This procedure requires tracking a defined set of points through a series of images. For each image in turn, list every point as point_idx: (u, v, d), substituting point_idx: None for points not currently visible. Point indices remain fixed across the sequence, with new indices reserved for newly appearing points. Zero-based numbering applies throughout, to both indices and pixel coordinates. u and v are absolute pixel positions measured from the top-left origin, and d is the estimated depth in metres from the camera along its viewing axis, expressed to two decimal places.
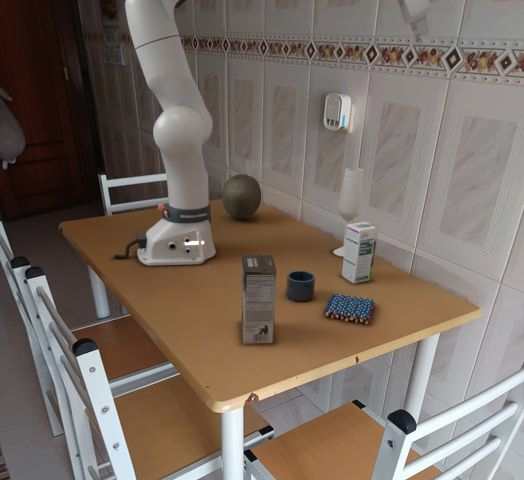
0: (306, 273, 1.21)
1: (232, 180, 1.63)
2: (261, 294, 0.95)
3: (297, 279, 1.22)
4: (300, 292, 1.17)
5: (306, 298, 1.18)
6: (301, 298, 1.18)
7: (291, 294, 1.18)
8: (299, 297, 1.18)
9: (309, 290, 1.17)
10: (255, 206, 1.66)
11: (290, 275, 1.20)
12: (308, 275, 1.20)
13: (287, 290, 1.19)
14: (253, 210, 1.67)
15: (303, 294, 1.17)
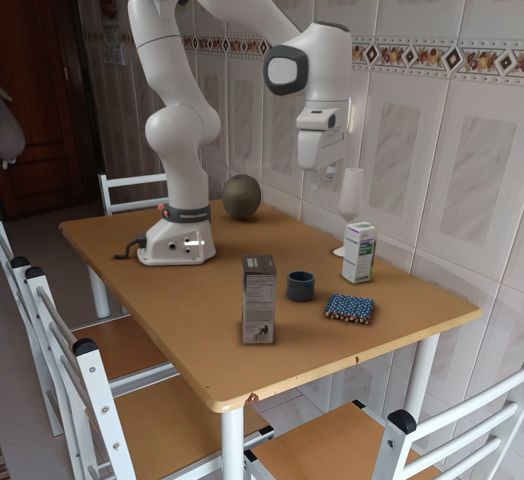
0: (306, 273, 1.21)
1: (232, 180, 1.63)
2: (261, 294, 0.95)
3: (297, 279, 1.22)
4: (300, 292, 1.17)
5: (306, 298, 1.18)
6: (301, 298, 1.18)
7: (291, 294, 1.18)
8: (299, 297, 1.18)
9: (309, 290, 1.17)
10: (255, 206, 1.66)
11: (290, 275, 1.20)
12: (308, 275, 1.20)
13: (287, 290, 1.19)
14: (253, 210, 1.67)
15: (303, 294, 1.17)
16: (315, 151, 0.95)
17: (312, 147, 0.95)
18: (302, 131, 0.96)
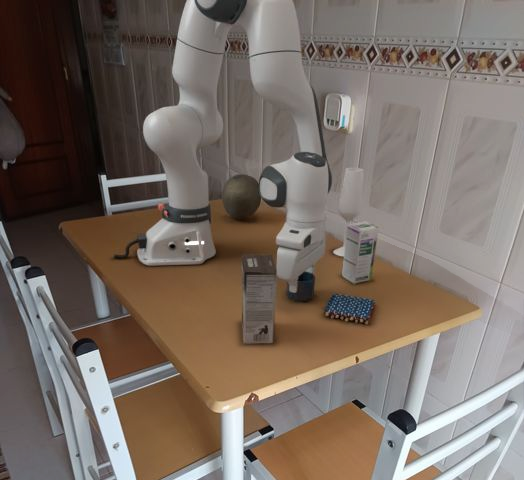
0: (306, 273, 1.21)
1: (232, 180, 1.63)
2: (261, 294, 0.95)
3: None
4: (300, 292, 1.17)
5: (306, 298, 1.18)
6: (301, 298, 1.18)
7: (291, 294, 1.18)
8: (299, 297, 1.18)
9: (309, 290, 1.17)
10: (255, 206, 1.66)
11: None
12: (308, 275, 1.21)
13: (287, 290, 1.19)
14: (253, 210, 1.67)
15: (303, 294, 1.17)
16: (291, 267, 1.07)
17: (289, 263, 1.07)
18: (281, 248, 1.08)
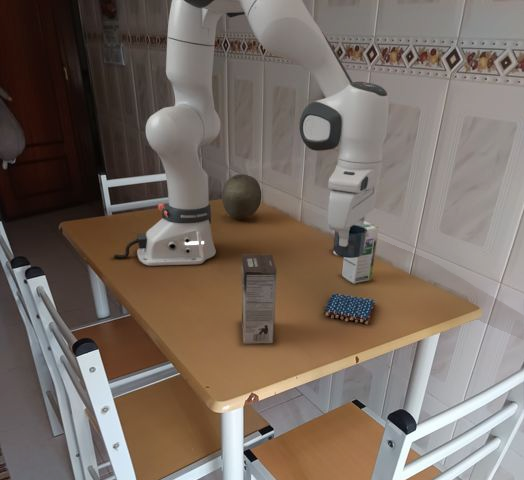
0: (356, 227, 1.08)
1: (232, 180, 1.63)
2: (261, 294, 0.95)
3: None
4: (351, 246, 1.04)
5: (357, 254, 1.05)
6: (352, 254, 1.05)
7: (340, 249, 1.05)
8: (349, 252, 1.05)
9: (361, 244, 1.05)
10: (255, 206, 1.66)
11: None
12: (357, 229, 1.08)
13: (335, 245, 1.06)
14: (253, 210, 1.67)
15: (354, 249, 1.05)
16: (346, 213, 0.94)
17: (343, 209, 0.94)
18: (334, 192, 0.95)
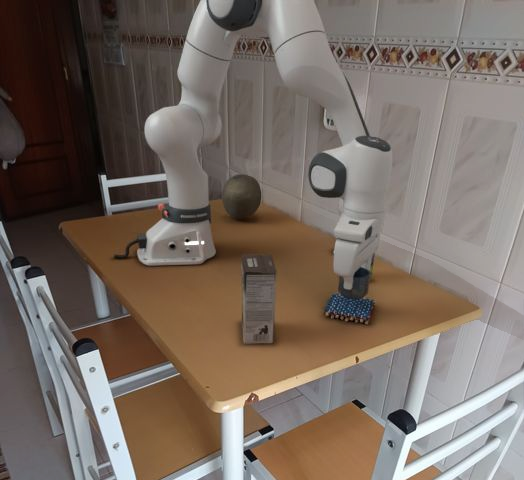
0: (360, 268, 1.12)
1: (232, 180, 1.63)
2: (261, 294, 0.95)
3: None
4: (355, 289, 1.08)
5: (361, 295, 1.09)
6: (356, 295, 1.09)
7: (345, 291, 1.09)
8: (354, 294, 1.09)
9: (365, 286, 1.09)
10: (255, 206, 1.66)
11: None
12: (361, 270, 1.12)
13: (340, 287, 1.10)
14: (253, 210, 1.67)
15: (358, 291, 1.08)
16: (351, 261, 0.98)
17: (348, 257, 0.98)
18: (339, 240, 0.99)
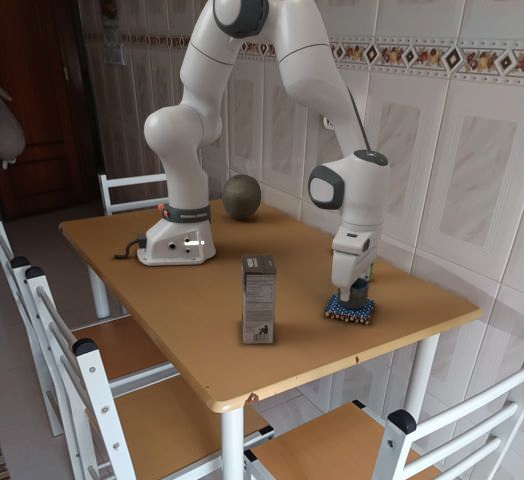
0: (358, 279, 1.13)
1: (232, 180, 1.63)
2: (261, 294, 0.95)
3: None
4: (354, 300, 1.09)
5: (359, 306, 1.11)
6: (354, 306, 1.10)
7: (343, 302, 1.11)
8: (352, 305, 1.10)
9: (363, 297, 1.10)
10: (255, 206, 1.66)
11: None
12: (360, 281, 1.13)
13: (339, 297, 1.12)
14: (253, 210, 1.67)
15: (357, 302, 1.10)
16: (348, 273, 1.00)
17: (346, 269, 0.99)
18: (337, 252, 1.00)
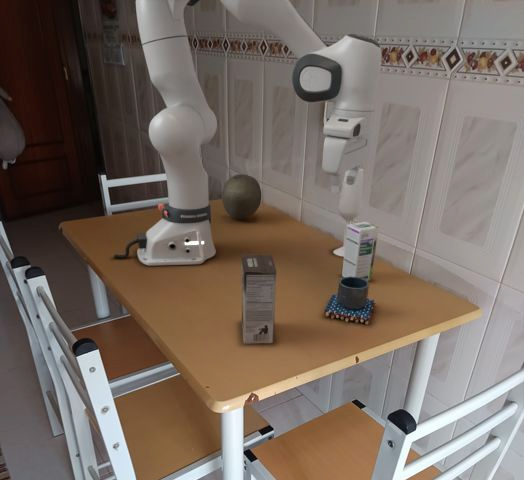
0: (358, 279, 1.13)
1: (232, 180, 1.63)
2: (261, 294, 0.95)
3: (348, 286, 1.14)
4: (354, 300, 1.09)
5: (359, 306, 1.11)
6: (354, 306, 1.10)
7: (343, 302, 1.11)
8: (352, 305, 1.10)
9: (363, 297, 1.10)
10: (255, 206, 1.66)
11: (342, 281, 1.12)
12: (360, 281, 1.13)
13: (339, 297, 1.12)
14: (253, 210, 1.67)
15: (357, 302, 1.10)
16: (339, 157, 1.02)
17: (336, 153, 1.02)
18: (328, 137, 1.02)
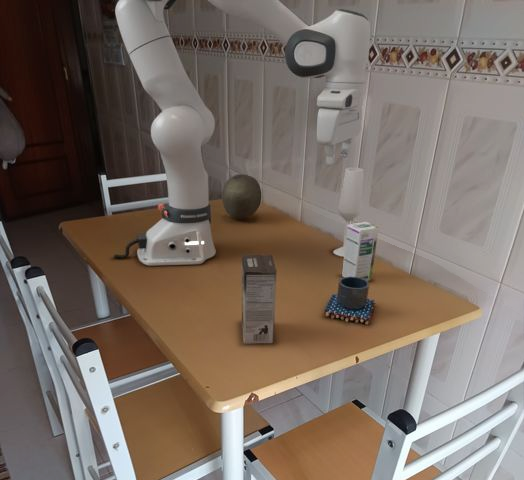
0: (358, 279, 1.13)
1: (232, 180, 1.63)
2: (261, 294, 0.95)
3: (348, 286, 1.14)
4: (354, 300, 1.09)
5: (359, 306, 1.11)
6: (354, 306, 1.10)
7: (343, 302, 1.11)
8: (352, 305, 1.10)
9: (363, 297, 1.10)
10: (255, 206, 1.66)
11: (342, 281, 1.12)
12: (360, 281, 1.13)
13: (339, 297, 1.12)
14: (253, 210, 1.67)
15: (357, 302, 1.10)
16: (332, 127, 1.07)
17: (330, 124, 1.07)
18: (322, 109, 1.07)
